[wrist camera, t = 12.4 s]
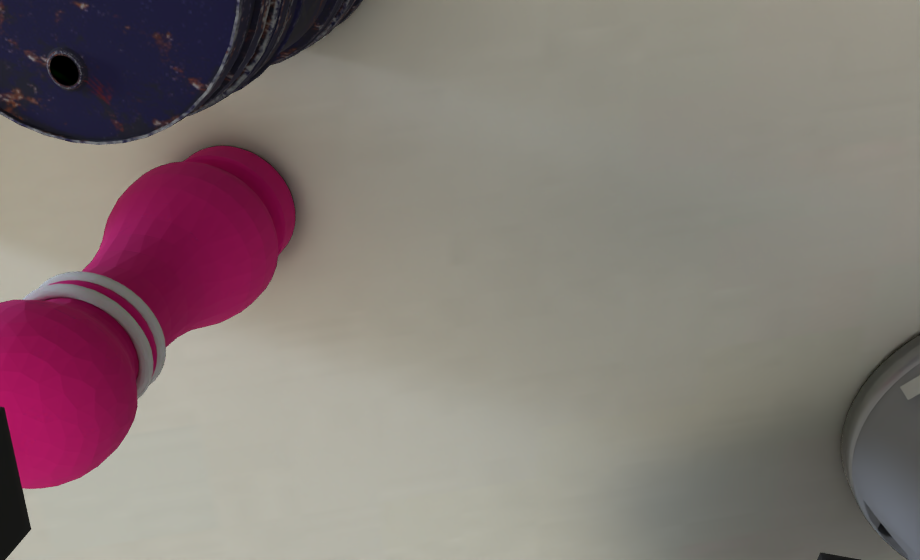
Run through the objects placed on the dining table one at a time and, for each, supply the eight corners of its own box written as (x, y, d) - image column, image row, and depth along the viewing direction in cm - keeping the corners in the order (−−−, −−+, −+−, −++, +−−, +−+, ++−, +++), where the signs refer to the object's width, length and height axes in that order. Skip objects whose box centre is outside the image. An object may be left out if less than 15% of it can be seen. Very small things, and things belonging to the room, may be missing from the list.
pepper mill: (303, 142, 36) (40, 390, 19) (308, 279, 40) (89, 598, 22) (156, 127, 37) (-231, 352, 19) (174, 263, 40) (-143, 559, 23)
